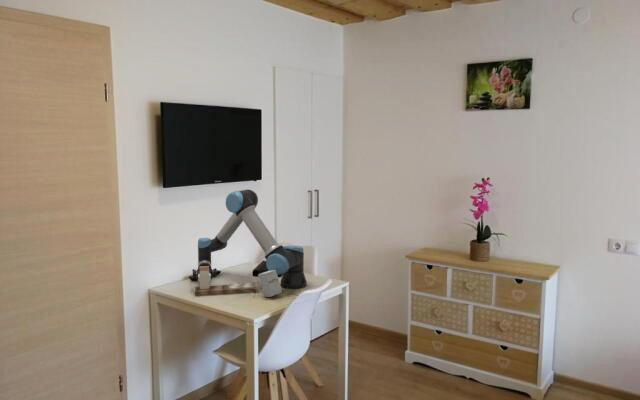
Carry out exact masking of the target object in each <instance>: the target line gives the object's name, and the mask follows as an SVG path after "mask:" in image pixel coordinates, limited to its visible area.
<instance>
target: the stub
mask: <svg viewBox="0 0 640 400" xmlns="http://www.w3.org/2000/svg"><path fill="white" fill-rule="evenodd" d="M199 270H200V282H199V286H200V289H209V286H210V281H209V266H199Z"/></svg>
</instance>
